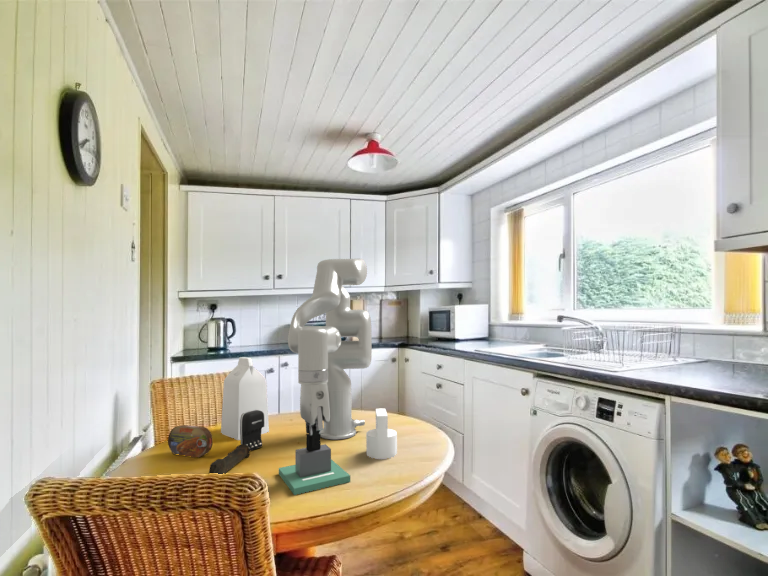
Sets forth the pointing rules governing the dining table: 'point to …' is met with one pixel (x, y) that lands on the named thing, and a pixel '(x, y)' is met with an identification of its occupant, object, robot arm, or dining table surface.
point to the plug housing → (312, 461)
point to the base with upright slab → (381, 438)
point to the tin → (190, 440)
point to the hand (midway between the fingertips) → (313, 449)
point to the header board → (313, 479)
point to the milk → (243, 397)
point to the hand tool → (230, 460)
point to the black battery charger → (251, 429)
